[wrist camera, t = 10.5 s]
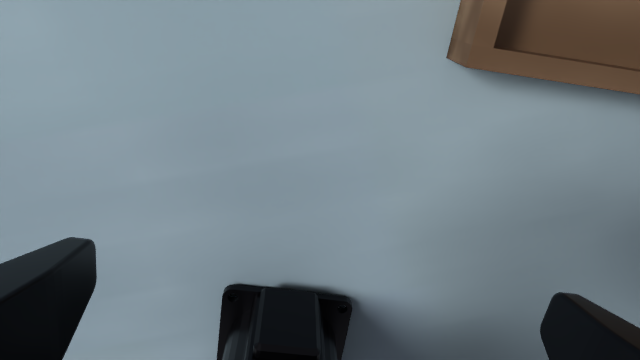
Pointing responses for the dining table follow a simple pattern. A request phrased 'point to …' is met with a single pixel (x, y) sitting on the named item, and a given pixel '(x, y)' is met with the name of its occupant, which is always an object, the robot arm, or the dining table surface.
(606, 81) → the tray
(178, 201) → the dining table surface
